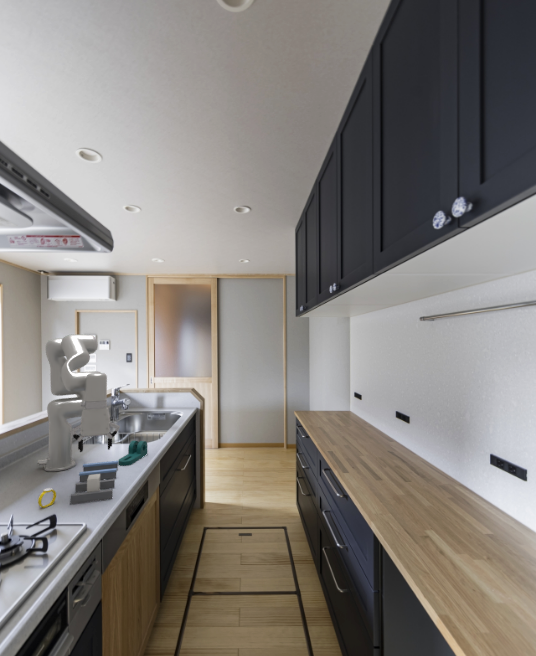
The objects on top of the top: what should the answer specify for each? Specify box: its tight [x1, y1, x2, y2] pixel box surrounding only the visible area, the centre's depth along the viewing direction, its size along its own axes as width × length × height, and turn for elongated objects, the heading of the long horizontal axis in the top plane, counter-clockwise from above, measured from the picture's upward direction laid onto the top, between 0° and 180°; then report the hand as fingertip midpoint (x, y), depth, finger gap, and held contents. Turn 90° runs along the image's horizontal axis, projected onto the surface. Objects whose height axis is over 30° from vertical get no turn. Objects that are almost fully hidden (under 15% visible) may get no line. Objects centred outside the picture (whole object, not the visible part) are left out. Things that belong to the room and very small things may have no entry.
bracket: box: [117, 440, 148, 467], centre depth 179 cm, size 18×7×8 cm, turn 171°
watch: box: [37, 487, 57, 509], centre depth 129 cm, size 6×3×6 cm, turn 157°
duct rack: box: [69, 460, 119, 505], centre depth 148 cm, size 14×33×4 cm, turn 19°
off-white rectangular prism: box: [86, 474, 101, 493], centre depth 138 cm, size 4×5×7 cm
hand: (95, 449), depth 139 cm, fingers open, 9 cm apart
